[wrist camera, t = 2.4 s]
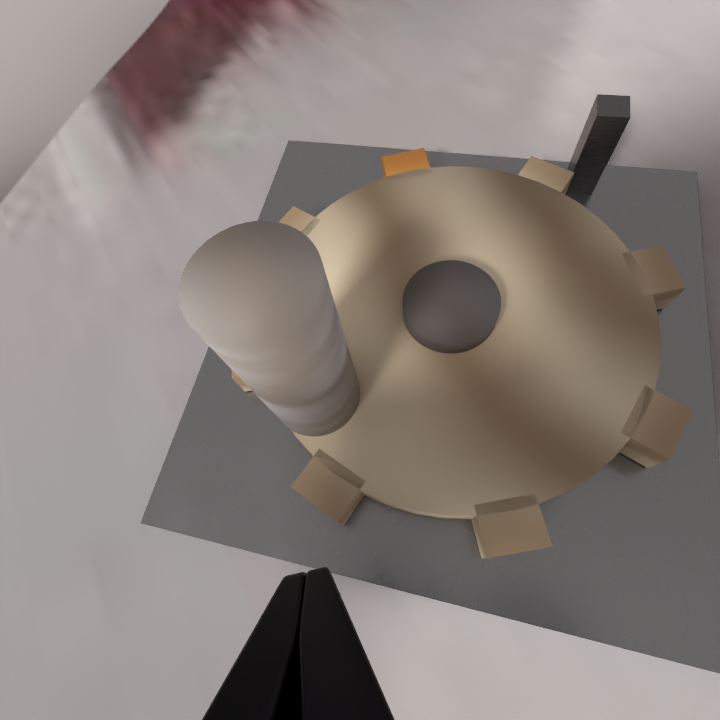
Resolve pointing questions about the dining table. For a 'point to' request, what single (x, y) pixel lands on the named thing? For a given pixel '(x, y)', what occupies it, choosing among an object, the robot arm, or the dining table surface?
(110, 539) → the dining table surface
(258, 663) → the robot arm
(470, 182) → the turntable
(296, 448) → the bearing plate
